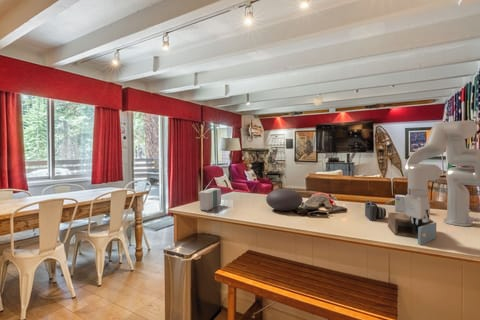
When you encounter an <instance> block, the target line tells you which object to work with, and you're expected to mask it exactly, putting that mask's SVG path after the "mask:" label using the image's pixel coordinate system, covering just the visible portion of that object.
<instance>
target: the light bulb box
mask: <svg viewBox="0 0 480 320" xmlns="http://www.w3.org/2000/svg"><path fill="white" fill-rule="evenodd" d="M406 195H407V194H406ZM406 195H405V194H395V196H394V198H395V199H394V213H404V205H405V198H406Z"/></svg>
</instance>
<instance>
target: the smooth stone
mask: <svg viewBox="0 0 480 320" xmlns="http://www.w3.org/2000/svg"><path fill="white" fill-rule="evenodd" d="M265 201H266V203H267V205H268V206H269V207H270V208H271V209H274V210H277V211H281V212H288V211H289V212H290V211H294V210H296V209H298V208H300V206H302V204H303V201H304V200H303V196H302V194H300V193H299V192H298V191H296V190H294V189H290V188H277V189H274V190H272V191H270V192H269V193H268V194H267V195H266V198H265Z"/></svg>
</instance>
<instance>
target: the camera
mask: <svg viewBox="0 0 480 320" xmlns="http://www.w3.org/2000/svg"><path fill="white" fill-rule="evenodd" d="M364 205H365V206H364V216H365V217H366V218H367V219H368V221H370V222H376V221H377V219H384V218H386V217H387V209H386V208H385V207H381V206H378V205H377V204H376V202H374V201H371V200H366V201H365V202H364Z"/></svg>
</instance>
